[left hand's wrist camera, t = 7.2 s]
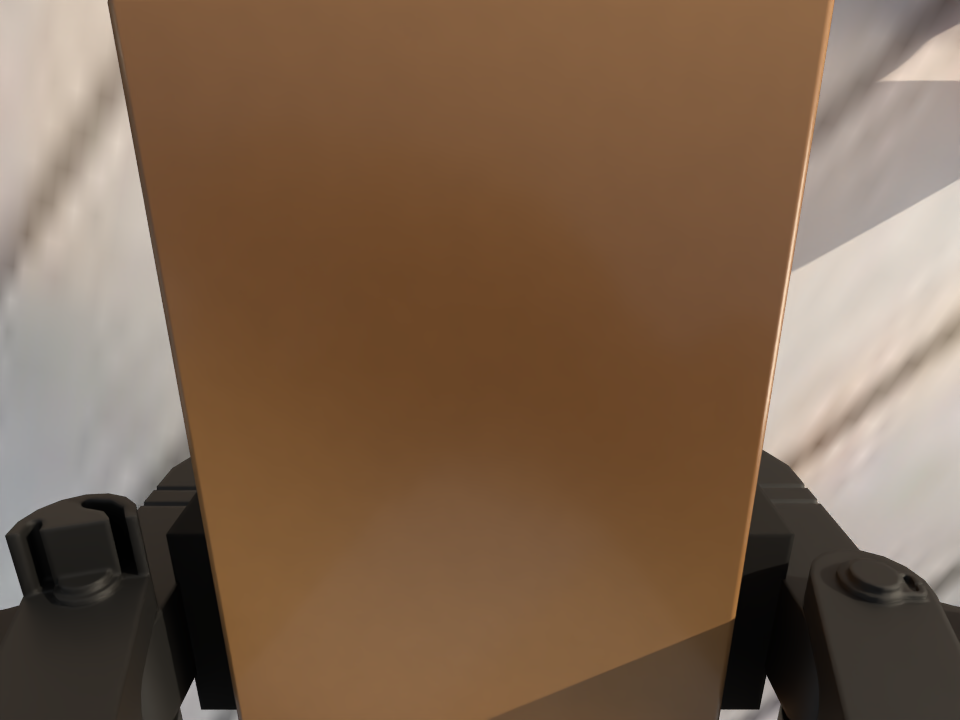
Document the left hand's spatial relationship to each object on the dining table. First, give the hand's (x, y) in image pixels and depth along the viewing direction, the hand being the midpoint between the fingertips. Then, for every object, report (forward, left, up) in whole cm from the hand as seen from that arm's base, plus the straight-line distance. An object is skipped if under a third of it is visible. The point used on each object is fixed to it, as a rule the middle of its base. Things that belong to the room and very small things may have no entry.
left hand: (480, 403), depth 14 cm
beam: (+24, -17, -1) cm, 30 cm away
